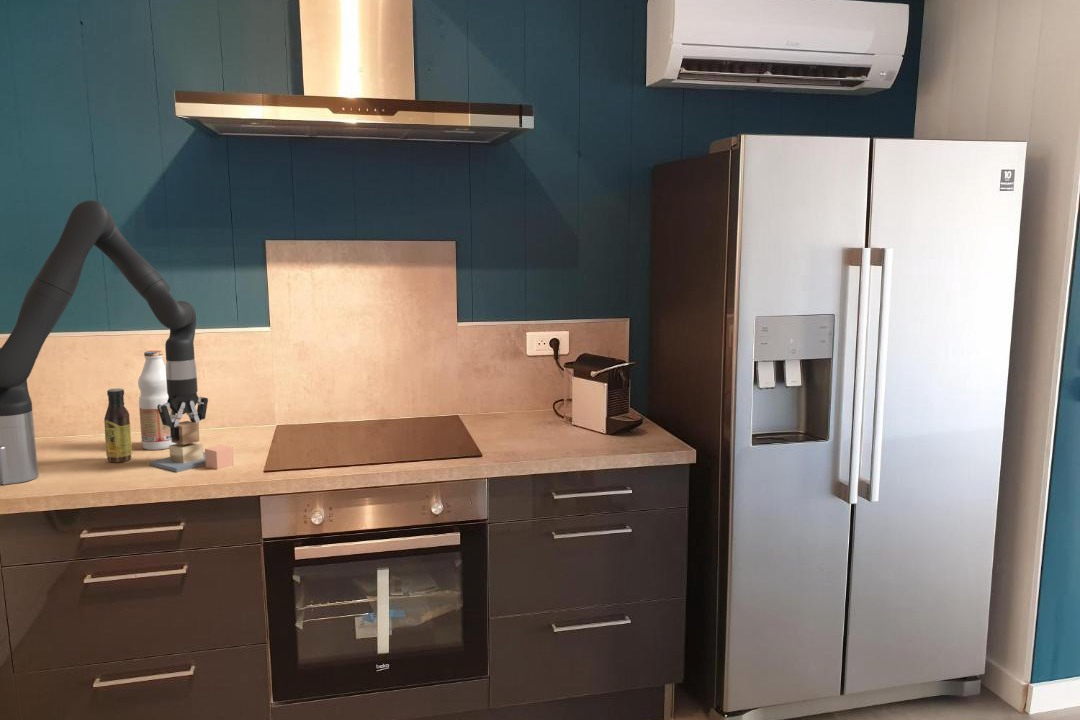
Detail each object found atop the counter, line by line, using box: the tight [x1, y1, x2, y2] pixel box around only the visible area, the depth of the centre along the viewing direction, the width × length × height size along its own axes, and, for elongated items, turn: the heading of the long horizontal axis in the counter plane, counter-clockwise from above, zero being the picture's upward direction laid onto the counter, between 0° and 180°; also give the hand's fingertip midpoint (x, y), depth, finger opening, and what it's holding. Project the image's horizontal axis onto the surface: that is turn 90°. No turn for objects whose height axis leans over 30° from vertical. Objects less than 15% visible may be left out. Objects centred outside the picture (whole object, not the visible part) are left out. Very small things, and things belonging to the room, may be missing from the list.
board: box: [149, 451, 206, 473], centre depth 226 cm, size 14×12×1 cm
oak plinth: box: [168, 442, 204, 463], centre depth 226 cm, size 6×6×4 cm
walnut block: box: [171, 420, 200, 445], centre depth 225 cm, size 5×5×5 cm
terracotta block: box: [204, 444, 234, 471], centre depth 223 cm, size 5×5×5 cm
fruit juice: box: [137, 350, 177, 451], centre depth 241 cm, size 9×9×28 cm
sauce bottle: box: [104, 387, 133, 464], centre depth 227 cm, size 7×6×20 cm
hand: (185, 437), depth 225 cm, fingers closed on walnut block, 5 cm apart
